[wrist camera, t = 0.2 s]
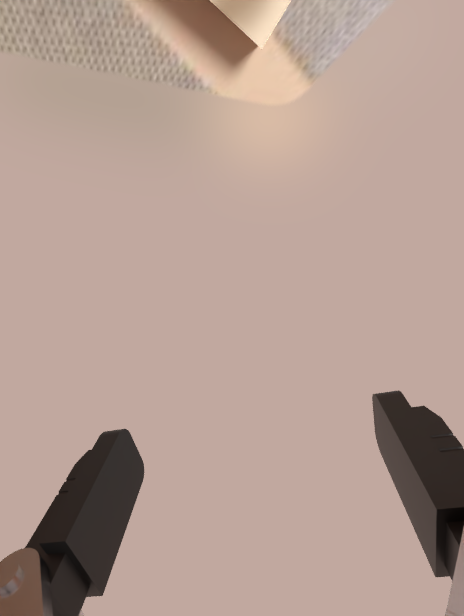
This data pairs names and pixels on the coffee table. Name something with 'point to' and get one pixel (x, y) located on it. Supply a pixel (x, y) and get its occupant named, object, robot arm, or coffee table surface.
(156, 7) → the coffee table surface
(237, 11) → the socket board
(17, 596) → the robot arm
